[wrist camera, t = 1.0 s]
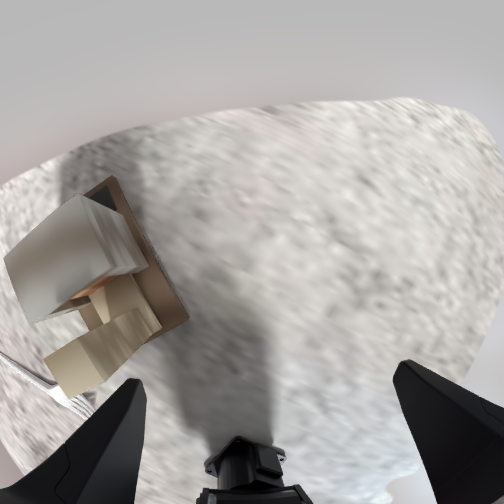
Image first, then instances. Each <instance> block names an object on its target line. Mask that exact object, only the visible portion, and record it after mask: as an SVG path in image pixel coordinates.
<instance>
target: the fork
mask: <svg viewBox="0 0 504 504" xmlns="http://www.w3.org/2000/svg"><path fill="white" fill-rule="evenodd" d="M0 359H1V360H2V361H3V362H5V363H6V364H7V365H8V366H10V367H11V368H12V369H14V370H15V371H16V372H17V373H19V374H20V375H22V376H23V377H24V378H26V379H27V380H28V381H30V382H31V383H33V384H34V385H36V386H37V387H39V388H40V389H42V390H43V391H45V392H46V393H48V394H49V395H50V396H51V397H52V398H54V399H55V400H56V401H57V402H58V403H60V404H61V405H63V406H65V407H68V408H69V409H70V410H72V411H73V412H75V413H77V414H78V415H79V416H81V417H82V418H84V419H85V420H87V419H88V417H87V416H89V417H90V416H91V415H90V413H91V414H93V412H92V410H93V411H94V412H95V411H96V410H95V408H94V407H93V406H92V404H91V403H90V402H89V401H88V400H87V399H86V398H85V397H84V396H83V395H82V394H80V395H77V396H76V397H77V398H79V399H80V400H79V399H77V398H75V397H73V398H71V399H73V400H74V401H76V402H77V403H78V404H77V403H75V402H73V401H72V400H71V399H69V400H68V398H67V397H66V395H65V394H64V392H63V391H62V389H61V388H60V386H59V385H58V384H55V385H49V384H47V383H46V382H44V381H42V380H41V379H39V378H38V377H36V376H35V375H33V374H32V373H30V372H29V371H27V370H26V369H24V368H23V367H21V366H20V365H18V364H17V363H15V362H13V361H12V360H11V359H9V358H8V357H6V356H5V355H3V354H2V353H1V352H0ZM81 400H82V401H83V402H84V403H86V404H87V405H88V406H89V407H90V408H91V409H92V410H91V409H90V408H89V407H88V406H87V405H86V404H84V403H83V402H82V401H81ZM71 404H73V405H74V406H76V407H77V408H78V409H77V408H75V407H73V406H72V405H71ZM79 404H80V405H79ZM82 406H83V407H84V408H85V409H86V410H88V411H89V412H90V413H89V412H88V411H86V410H85V409H84V408H83V407H82ZM79 409H80V410H79ZM82 411H83V412H84V413H85V414H86V415H87V416H86V415H85V414H84V413H83V412H82Z"/></svg>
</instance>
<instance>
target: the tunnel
mask: <svg viewBox="0 0 504 504" xmlns="http://www.w3.org/2000/svg"><path fill="white" fill-rule="evenodd" d="M3 259H4V262H5V265H6V268H7V271H8V274H9V277H10V280H11V283H12V285H13V288H14V291H15V293H16V296H17V298H18V301H19V303H20V306H21V308H22V310H23V313H24V315H25V317H26V319H27V321H28V324H29V325H31V324H34V323H37V322H40V321H44V320H47V319H50V318H53V317H56V316H59V315H63V314H66V313H69V312H72V311H75V310H79V312H80V314H81V316H82V318H83V320H84V321H85V323H86V325H87V327H88V329H89V331H92V330H94V329H96V328H97V327H99V326H101V325H103V324H104V323H103V322H102V320H101V318H100V316H99V314H98V313H97V311H96V309H95V307H94V305H93V303H92V301H91V299H90V297H89V295H87V296H83V297H78V298H74V299H71V298H73V297H74V296H75V295H77V294H78V293H80V292H81V291H83V290H84V289H86V288H87V287H88V286H90V285H91V284H93V283H94V282H96V281H97V280H99V279H100V278H102V277H104V276H114V275H123V274H132V276H133V278H134V279H135V281H136V283H137V285H138V287H139V289H140V290H141V292H142V294H143V296H144V298H145V299H146V301H147V303H148V304H149V306H150V308H151V310H152V311H153V313H154V315H155V316H156V318H157V320H158V321H159V323H160V325H161V326H162V328H161V329H160V330H158V331H157V332H155V333H153V334H152V335H151V336H150V337H149V338H148V339H147V340H146V341H145V342H144V343H143V344H145V343H147V342H149V341H150V340H152V339H154V338H156V337H158V336H159V335H161V334H163V333H165V332H167V331H168V330H170V329H172V328H174V327H176V326H177V325H179V324H181V323H183V322H184V321H186V320H188V319H189V316H188V314H187V312H186V311H185V309H184V307H183V306H182V304H181V302H180V301H179V299H178V297H177V296H176V294H175V292H174V290H173V289H172V287H171V285H170V284H169V282H168V280H167V278H166V276H165V275H164V273H163V271H162V269H161V268H160V266H159V264H158V262H157V260H156V258H155V257H154V255H153V253H152V251H151V249H150V247H149V245H148V243H147V242H146V240H145V238H144V236H143V234H142V232H141V230H140V228H139V226H138V224H137V222H136V220H135V218H134V216H133V214H132V212H131V210H130V208H129V206H128V203H127V201H126V199H125V197H124V195H123V193H122V191H121V188H120V186H119V184H118V182H117V180H116V178H115V177H114V176H111V177H109V178H108V179H106V180H105V181H103V182H102V183H100V184H99V185H97V186H96V187H95V188H93V189H92V190H90V191H89V192H88V193H86V194H85V195H81V194H79V193H77V194H76V195H75V196H73V197H72V198H71V199H69V200H68V201H67V202H65V203H64V204H63V205H62V206H60V207H59V208H58V209H57V210H56V211H54V212H53V213H52V214H51V215H49V216H48V217H47V218H46V219H45V220H44V221H42V222H41V223H40V224H39V225H38V226H37V227H36V228H34V229H33V230H32V231H31V232H30V233H29V234H28V235H27V236H26V237H25V238H23V239H22V240H21V241H20V242H19V243H18V244H17V245H16V246H15V247H14V248H13V249H12V250H11V251H10V252H9V253H8V254H7V255H6V256H5V257H4V258H3ZM143 344H142V345H143Z"/></svg>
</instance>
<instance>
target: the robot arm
mask: <svg viewBox="0 0 504 504" xmlns="http://www.w3.org/2000/svg"><path fill="white" fill-rule="evenodd" d="M393 384H394V387H395V390H396V393H397V396H398V399H399V402H400V405H401V409H402V412H403V414H404V417H405V419H406V422H407V424H408V426H409V429H410V431H411V434H412V436H413V439H414V441H415V443H416V446H417V449H418V451H419V453H420V456H421V459H422V461H423V464H424V466H425V469H426V472H427V475H428V478H429V480H430V483H431V486H432V489H433V492H434V495H435V498H436V501H437V504H504V408H503V407H500V406H498V405H496V404H493V403H491V402H489V401H487V400H485V399H484V398H481V397H479V396H478V395H476V394H474V393H472V392H470V391H468V390H466V389H464V388H463V387H461V386H459V385H457V384H455V383H453V382H451V381H449V380H448V379H446V378H444V377H442V376H440V375H438V374H436V373H435V372H433V371H431V370H429V369H427V368H425V367H423V366H422V365H420V364H418V363H416V362H414V361H412V360H410V359H408V360H404V361H401V362H400V363H399V365H398V367H397V369H396V371H395V374H394V376H393ZM146 404H147V397H146V393H145V390H144V387H143V384H142V381H141V380H140V379H133V378H129V379H127V380H126V381H125V382H124V383H123V384H122V385H121V386H120V387H119V388H118V389H117V390H116V391H115V392H114V393H113V394H112V395H111V396H110V397H109V398H108V399H107V400H106V401H105V402H104V403H103V404H102V405H101V406H100V407H99V408H98V409H97V410H96V411H95V412H94V413H93V414H92V415H91V416H90V417H89V418H88V419H87V420H86V421H85V422H84V423H83V424H82V425H81V426H80V427H79V428H78V429H77V430H76V431H75V432H74V433H73V434H72V435H71V436H70V437H69V438H68V439H67V440H66V441H65V443H63V444H62V445H61V446H60V447H59V448H58V449H57V450H56V451H55V452H54V453H53V454H52V455H51V456H50V457H49V458H48V459H46V460H45V461H44V462H43V463H41V464H40V465H39V466H38V467H36V468H35V469H34V470H32V471H31V472H30V473H28V474H27V475H26V476H24V477H23V478H22V479H20V480H19V481H18V482H16V483H15V484H13V485H11V486H9V487H6V488H3V489H0V504H134V500H135V493H136V486H137V479H138V473H139V466H140V460H141V455H142V449H143V443H144V432H145V417H146ZM237 440H240V441H239V442H237ZM281 458H283V459H281ZM285 461H286V456H285V455H283V454H280V453H278V452H276V451H275V450H273V449H270V448H268V447H265V446H263V445H261V444H258V443H253V442H251V441H249V440H247V439H244V438H242V437H239V436H237V437H234V438H233V439H232V440H231V442H230V443H229V444H228V445H227V446H226V447H225V448H224V449H223V450H222V451H221V452H220V453H219V454H218V456H217V457H216V458H215V459H214V460H213V461H212V462H211V463H210V464H209V465H208V466H207V467H206V468H205V472H206V473H207V474H210V475H212V476H214V477H217V478H218V489H209V488H203V492H202V493H200V497H199V498H197V499H196V504H313V502H312V501H311V500H310V498H309V497H308V496H307V494H306V493H305V492H304V490H303V489H302V488H301V486H300V485H299V484H297V485H293V486H287V487H284V483H283V480H282V476H283V471H282V468H281V465H282V464H283V463H284V462H285ZM209 470H211V471H209Z"/></svg>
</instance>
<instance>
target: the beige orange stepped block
mask: <svg viewBox="0 0 504 504" xmlns="http://www.w3.org/2000/svg"><path fill="white" fill-rule="evenodd" d="M87 295H89V297H90V299H91V301H92V303H93V305H94V307H95V309H96V311H97V313H98V314H99V316H100V318H101V320H102V322H103V323H104V324H103V325H101V326H99V327H97V328H96V329H94V330H92V331H90V332H88V333H86V334H84V335H82V336H80V337H78V338H76V339H75V340H73V341H71V342H70V343H68V344H66V345H65V346H63V347H62V348H60V349H59V350H57V351H55V352H54V353H52V354H51V355H49V356H47V357H46V358H44V359H43V360H44V361H45V363H46V365H47V367H48V368H49V370H50V372H51V373H52V375H53V377H54V378H55V380H56V381H57V383H58V385H59V386H60V388H61V389H62V391H63V392H64V394H65V395H66V397H67V398H68V400H69V399H71V398H73V397H75V396H77V395H80V394H82V393H84V392H86V391H88V390H90V389H92V388H94V387H96V386H98V385H100V384H102V383H104V382H106V381H107V380H108V379H109V378H110V377H111V376H112V374H113V373H114V372H115V371H116V370H117V369H118V368H119V367H120V366H121V365H122V364H123V363H124V362H125V361H126V360H127V359H128V358H129V357H130V356H131V355H132V354H133V353H134V352H135V351H136V350H137V349H138V348H139V347H140V346H141V345H142V344H143V343H144V342H145V341H146V340H147V339H148V338H149V337H150V336H151V335H152V334H153V333H155V332H157V331H158V330H160V329H161V328H162V326H161V325H160V323H159V321H158V320H157V318H156V316H155V315H154V313H153V311H152V310H151V308H150V306H149V304H148V303H147V301H146V299H145V298H144V296H143V294H142V292H141V290H140V289H139V287H138V285H137V283H136V281H135V279H134V278H133V276H132V274H123V275H114V276H104V277H102V278H100V279H99V280H97V281H96V282H94V283H93V284H91V285H90V286H88V287H87V288H86V289H84V290H83V291H81V292H80V293H78V294H77V295H75V296H74V297H73V298H71V299H74V298H78V297H83V296H87Z"/></svg>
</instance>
